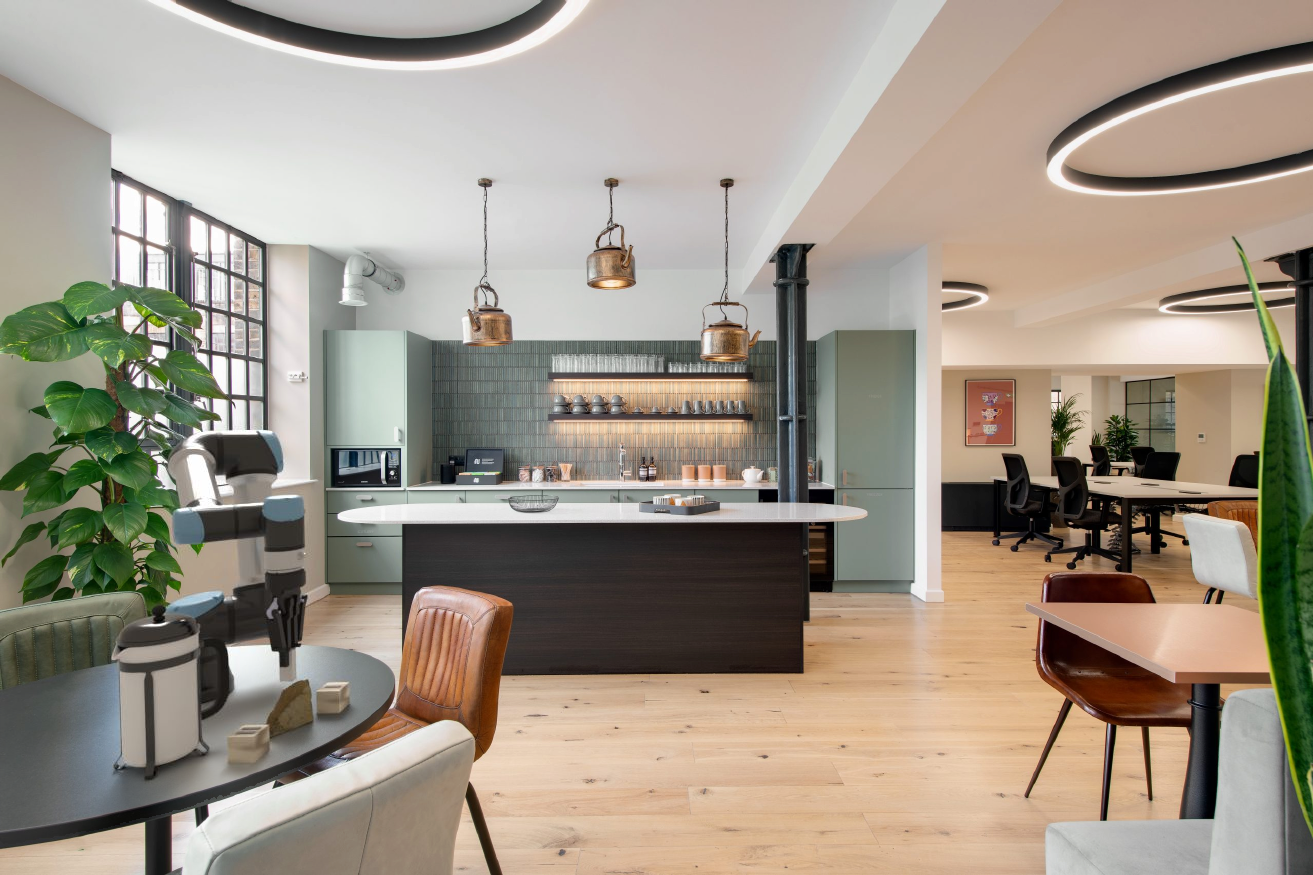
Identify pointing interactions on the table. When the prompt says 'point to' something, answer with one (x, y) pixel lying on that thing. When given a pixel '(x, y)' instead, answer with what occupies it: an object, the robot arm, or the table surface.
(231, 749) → the birch block
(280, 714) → the rock
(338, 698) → the birch block
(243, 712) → the table surface
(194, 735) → the coffee press
